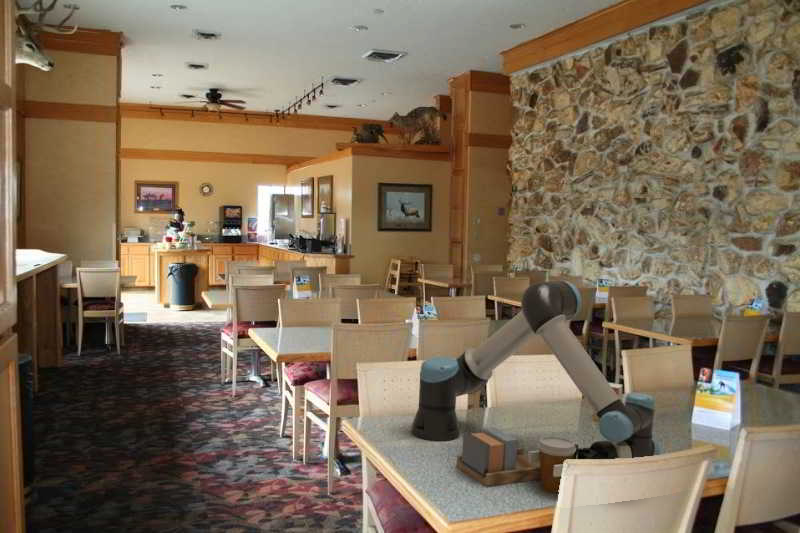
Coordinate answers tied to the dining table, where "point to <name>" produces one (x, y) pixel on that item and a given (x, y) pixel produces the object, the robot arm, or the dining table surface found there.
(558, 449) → the disposable coffee cup
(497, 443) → the books
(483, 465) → the bookend
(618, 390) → the small box
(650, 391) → the dining table surface
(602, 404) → the robot arm
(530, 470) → the wooden serving tray
